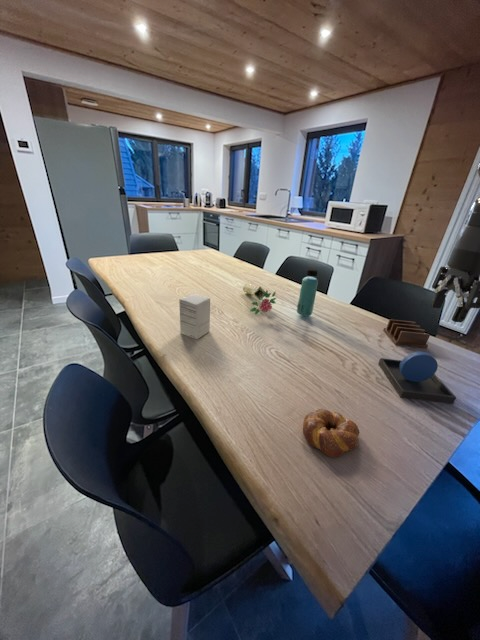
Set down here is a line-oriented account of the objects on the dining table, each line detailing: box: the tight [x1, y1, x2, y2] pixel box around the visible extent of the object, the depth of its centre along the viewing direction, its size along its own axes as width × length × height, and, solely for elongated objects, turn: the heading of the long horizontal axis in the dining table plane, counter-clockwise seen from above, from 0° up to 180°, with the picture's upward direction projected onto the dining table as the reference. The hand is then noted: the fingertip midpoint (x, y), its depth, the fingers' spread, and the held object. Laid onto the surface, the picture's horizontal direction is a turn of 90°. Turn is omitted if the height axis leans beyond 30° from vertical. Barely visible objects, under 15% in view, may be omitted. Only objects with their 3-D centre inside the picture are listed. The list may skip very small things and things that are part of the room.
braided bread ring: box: [302, 408, 361, 458], centre depth 55 cm, size 12×11×4 cm
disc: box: [399, 351, 439, 382], centre depth 72 cm, size 9×2×9 cm, turn 85°
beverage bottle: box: [296, 268, 319, 317], centre depth 106 cm, size 6×7×20 cm
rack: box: [383, 318, 431, 349], centre depth 97 cm, size 11×11×5 cm
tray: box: [378, 357, 457, 405], centre depth 74 cm, size 13×15×2 cm
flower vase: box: [242, 283, 277, 315], centre depth 113 cm, size 12×12×35 cm
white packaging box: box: [178, 292, 211, 340], centre depth 88 cm, size 7×7×13 cm
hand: (445, 314), depth 66 cm, fingers open, 8 cm apart
